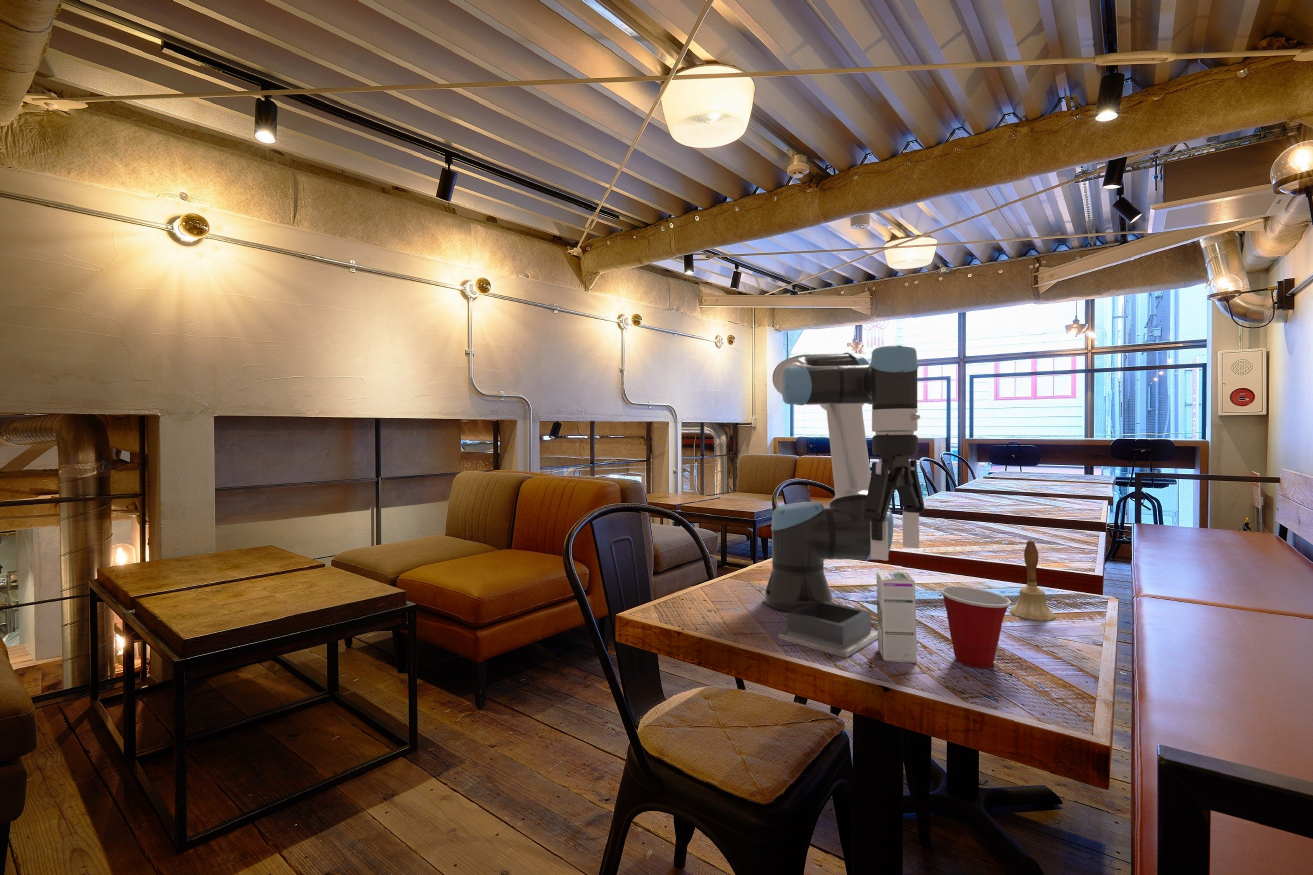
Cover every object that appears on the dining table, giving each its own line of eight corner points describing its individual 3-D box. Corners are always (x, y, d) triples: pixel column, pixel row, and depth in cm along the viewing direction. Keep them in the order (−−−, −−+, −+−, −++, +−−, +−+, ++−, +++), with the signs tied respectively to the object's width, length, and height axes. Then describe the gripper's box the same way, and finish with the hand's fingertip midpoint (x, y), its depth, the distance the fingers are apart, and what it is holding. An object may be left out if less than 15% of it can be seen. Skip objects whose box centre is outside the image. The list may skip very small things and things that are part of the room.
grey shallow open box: (778, 638, 112) (778, 612, 112) (815, 620, 122) (815, 597, 122) (846, 657, 102) (845, 629, 102) (880, 637, 112) (880, 611, 112)
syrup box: (917, 663, 99) (917, 579, 99) (881, 661, 101) (881, 578, 100) (910, 650, 105) (909, 571, 105) (876, 648, 106) (875, 570, 106)
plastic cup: (1023, 676, 94) (1023, 603, 93) (952, 673, 95) (952, 601, 95) (995, 651, 104) (995, 585, 104) (932, 648, 106) (932, 583, 106)
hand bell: (1039, 623, 118) (1039, 546, 118) (1001, 612, 126) (1000, 539, 126) (1064, 617, 122) (1064, 542, 122) (1025, 606, 129) (1025, 536, 129)
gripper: (885, 434, 91) (887, 568, 91) (942, 432, 108) (943, 545, 108) (841, 434, 96) (842, 561, 96) (901, 433, 114) (902, 540, 114)
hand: (895, 553), depth 102 cm, fingers open, 13 cm apart
